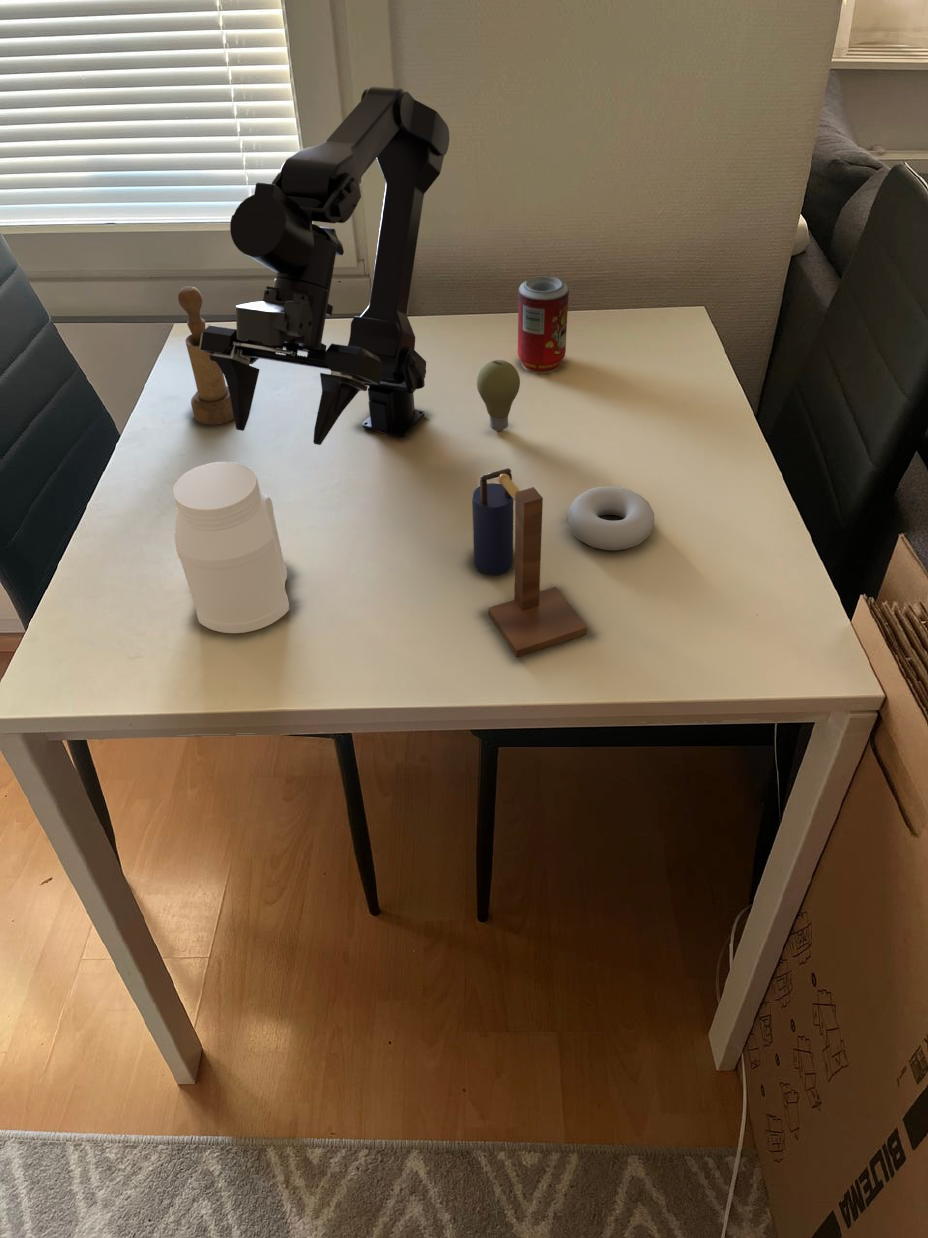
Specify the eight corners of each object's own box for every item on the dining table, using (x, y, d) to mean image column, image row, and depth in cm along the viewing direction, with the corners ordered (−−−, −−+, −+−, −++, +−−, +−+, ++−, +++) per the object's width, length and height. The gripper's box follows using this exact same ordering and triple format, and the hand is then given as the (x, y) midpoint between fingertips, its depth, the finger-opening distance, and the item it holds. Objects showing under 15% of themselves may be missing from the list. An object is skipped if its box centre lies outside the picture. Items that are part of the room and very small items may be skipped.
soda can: (559, 377, 134) (563, 296, 125) (512, 372, 135) (512, 291, 127) (569, 355, 138) (573, 274, 130) (523, 350, 140) (524, 270, 132)
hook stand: (469, 585, 102) (465, 471, 91) (534, 565, 104) (537, 451, 93) (516, 657, 93) (518, 541, 83) (586, 634, 95) (596, 518, 85)
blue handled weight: (468, 556, 105) (464, 462, 96) (503, 546, 106) (502, 452, 97) (483, 579, 102) (481, 484, 93) (519, 568, 103) (520, 473, 94)
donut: (643, 564, 103) (660, 511, 110) (647, 540, 101) (663, 487, 108) (557, 547, 106) (578, 496, 113) (558, 524, 103) (579, 473, 110)
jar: (290, 626, 98) (265, 513, 87) (198, 640, 97) (162, 526, 86) (286, 558, 106) (262, 447, 95) (201, 570, 105) (168, 458, 94)
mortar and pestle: (230, 426, 127) (200, 301, 114) (186, 423, 128) (152, 297, 115) (248, 402, 131) (221, 278, 119) (205, 398, 132) (174, 275, 120)
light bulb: (471, 437, 123) (469, 368, 116) (486, 416, 127) (485, 348, 120) (511, 444, 121) (511, 376, 114) (525, 423, 125) (526, 355, 118)
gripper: (179, 252, 90) (156, 412, 92) (352, 274, 85) (324, 443, 87) (239, 283, 101) (217, 426, 103) (395, 305, 96) (369, 455, 98)
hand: (277, 437), depth 97 cm, fingers open, 9 cm apart
